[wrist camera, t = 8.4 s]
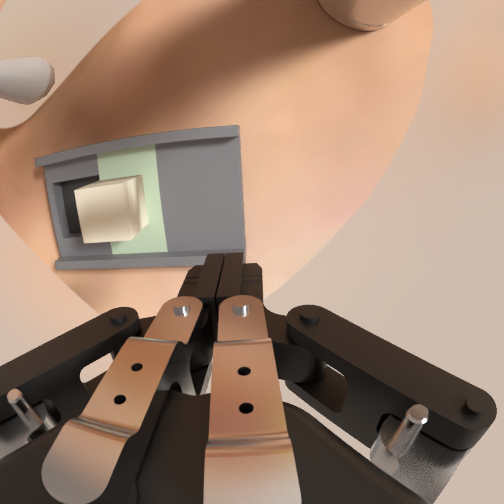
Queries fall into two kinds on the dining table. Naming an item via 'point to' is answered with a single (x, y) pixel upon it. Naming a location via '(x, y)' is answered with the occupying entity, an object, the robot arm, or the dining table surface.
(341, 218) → the dining table surface
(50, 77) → the salt shaker
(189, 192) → the trap lane
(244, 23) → the dining table surface
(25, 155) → the dining table surface
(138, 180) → the maple block
